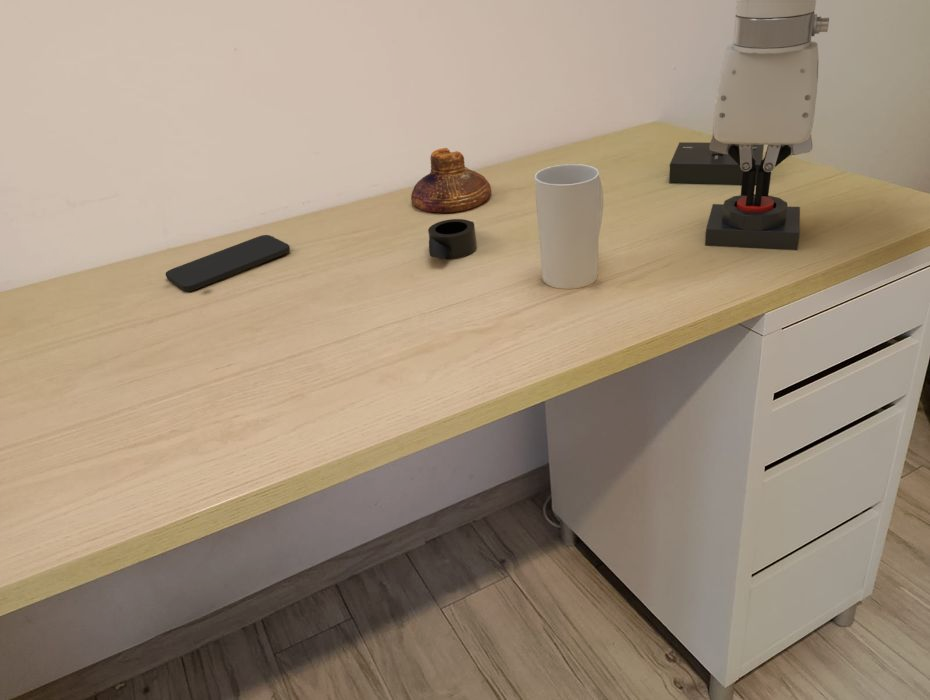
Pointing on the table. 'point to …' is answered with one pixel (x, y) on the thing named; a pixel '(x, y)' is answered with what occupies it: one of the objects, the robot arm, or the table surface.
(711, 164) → the plate
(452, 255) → the duct tape
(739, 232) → the button box
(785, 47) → the robot arm
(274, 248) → the phone
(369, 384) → the table surface
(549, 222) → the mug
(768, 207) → the button
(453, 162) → the bell
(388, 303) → the table surface
